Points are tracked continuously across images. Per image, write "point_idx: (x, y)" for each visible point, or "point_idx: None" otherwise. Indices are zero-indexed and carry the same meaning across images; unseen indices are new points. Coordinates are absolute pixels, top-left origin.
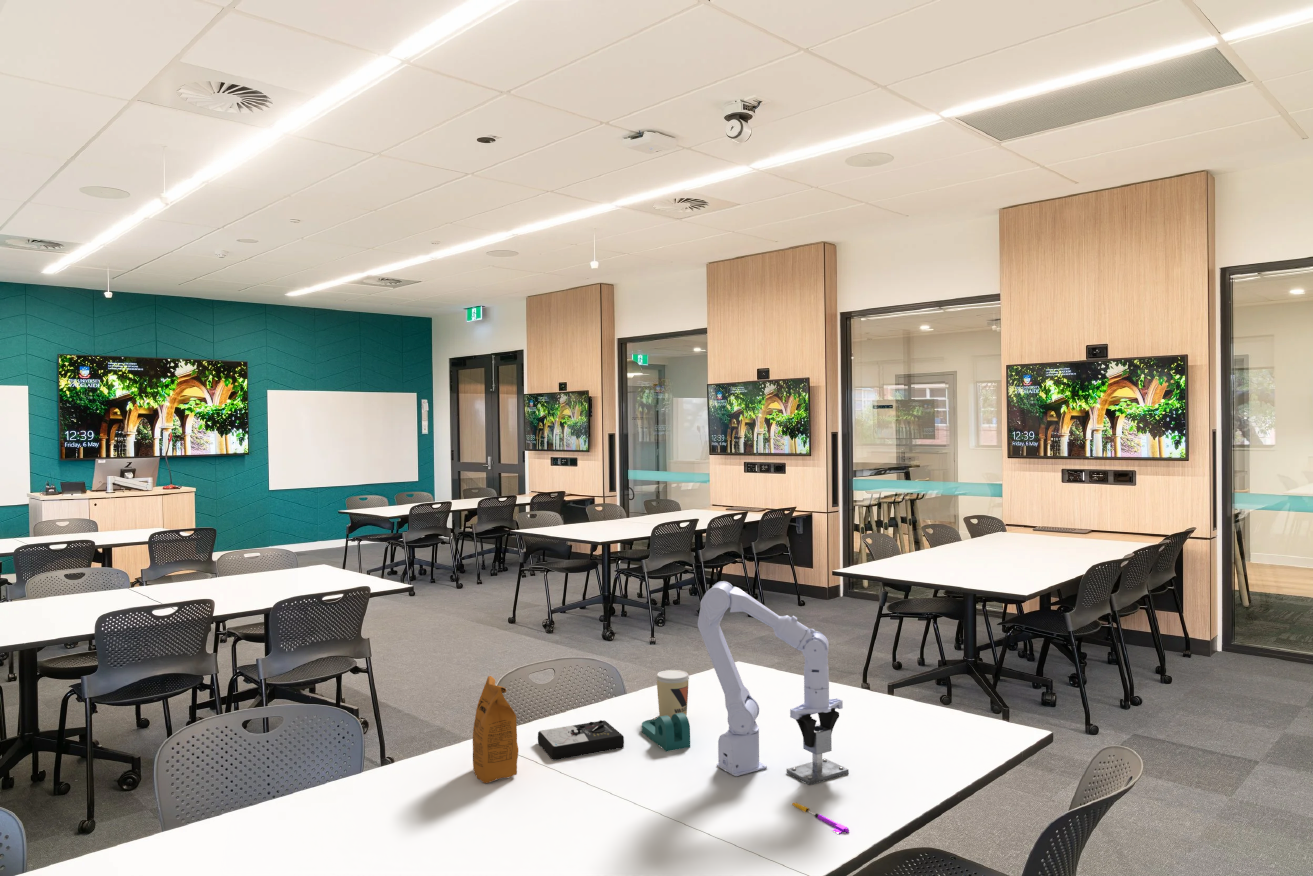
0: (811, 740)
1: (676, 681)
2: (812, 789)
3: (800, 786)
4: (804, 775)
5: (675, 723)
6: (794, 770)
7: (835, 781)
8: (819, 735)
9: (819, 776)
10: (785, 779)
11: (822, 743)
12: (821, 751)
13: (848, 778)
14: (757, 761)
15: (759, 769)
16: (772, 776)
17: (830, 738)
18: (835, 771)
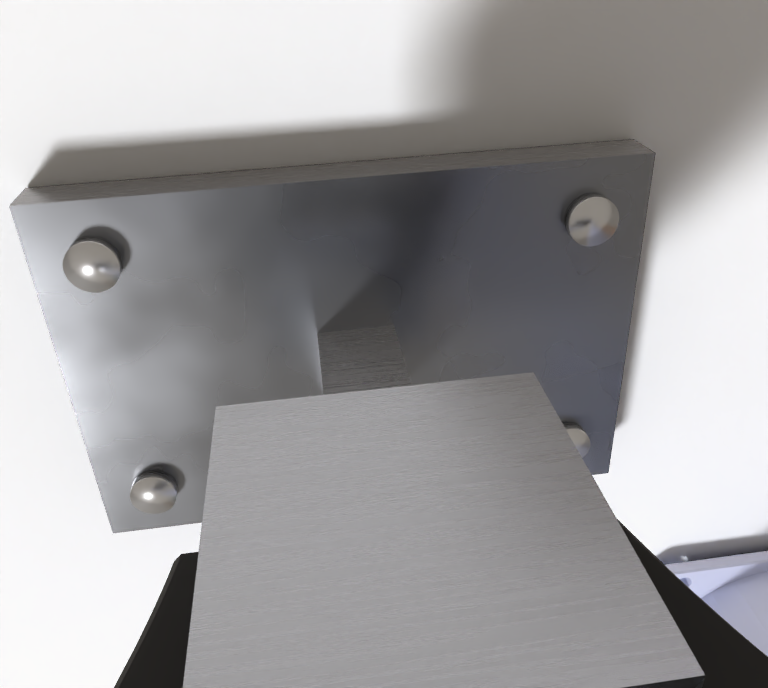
0: (672, 581)
1: None
2: (688, 31)
3: (721, 164)
4: (590, 290)
5: None
6: (575, 424)
7: (309, 83)
8: (572, 630)
9: (473, 198)
10: (697, 356)
11: (443, 493)
12: (437, 405)
13: (101, 76)
14: (756, 623)
15: (732, 559)
16: (729, 444)
17: (223, 565)
18: (209, 227)
